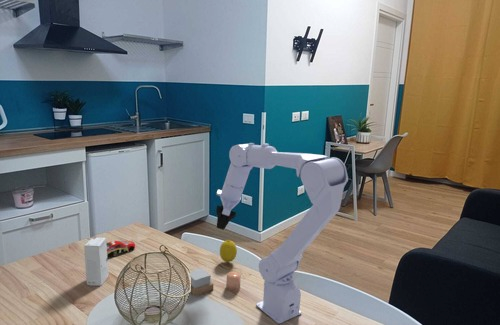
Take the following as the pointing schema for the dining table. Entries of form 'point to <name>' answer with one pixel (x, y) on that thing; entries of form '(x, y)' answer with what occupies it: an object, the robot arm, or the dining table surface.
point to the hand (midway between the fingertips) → (222, 220)
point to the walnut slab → (202, 289)
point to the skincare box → (96, 261)
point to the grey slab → (199, 278)
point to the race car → (119, 247)
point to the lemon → (228, 251)
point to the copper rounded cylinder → (233, 281)
